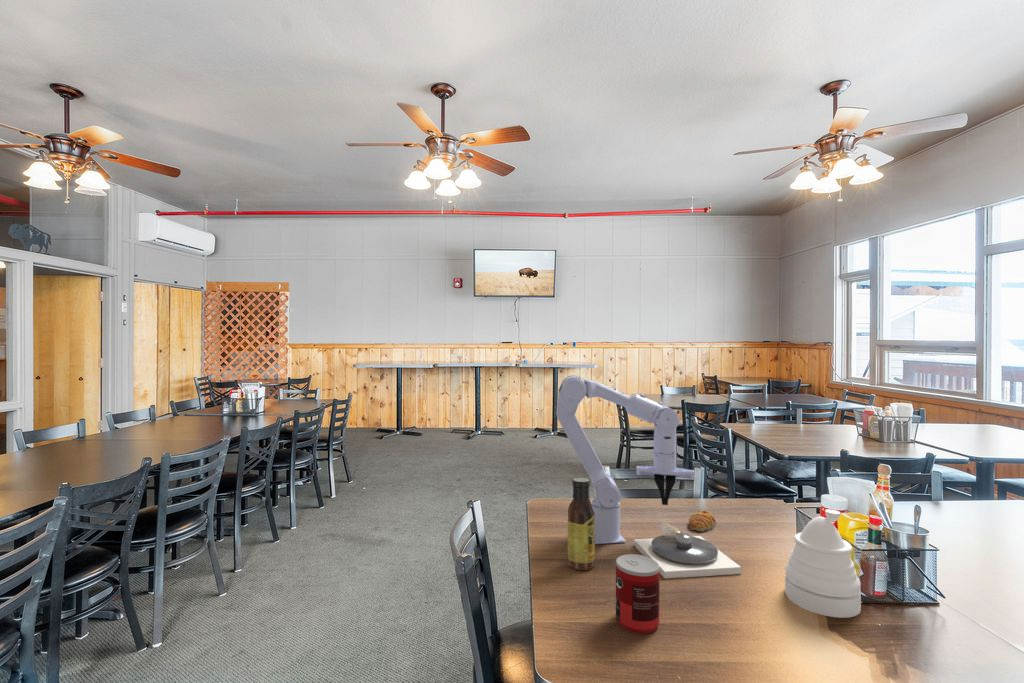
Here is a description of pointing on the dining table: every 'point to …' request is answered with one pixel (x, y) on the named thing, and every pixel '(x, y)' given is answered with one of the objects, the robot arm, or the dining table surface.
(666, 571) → the base
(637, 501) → the dining table surface
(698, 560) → the handwheel
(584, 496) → the sauce bottle
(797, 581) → the honey pot
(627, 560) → the canned food
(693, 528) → the pastry
